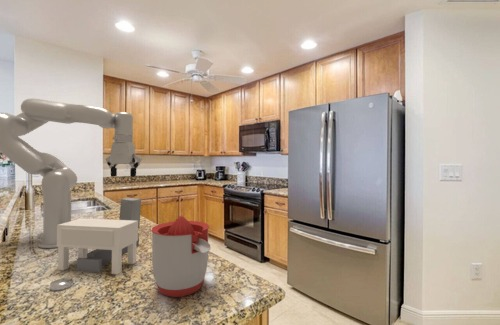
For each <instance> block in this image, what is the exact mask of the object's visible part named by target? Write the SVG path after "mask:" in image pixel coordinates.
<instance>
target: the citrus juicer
mask: <svg viewBox="0 0 500 325" xmlns="http://www.w3.org/2000/svg"><path fill="white" fill-rule="evenodd" d="M209 229H210V225H209V224H208V223H206V222H203V221H199V220H198V221H197V220H187V218H186V217H184V216H183V215H181V216H178V217H177V218H176V219H175V221H169V222H163V223H160V224H157V225H154V226H153V227H152V228H151V234H152V238H151V239H152V240H151V241H152V244H151V245H152V247H151V250H152V251H151V253H152V254H151V255H152V256H151V262H152V263H151V264H152V272H153V277H154V280H155V285H156V288H157V289H158V292H159V293H160V294H162V296H163V295H164V296H166V297H172V298H173V297H174V298H181V297H184V296H189V295H191V294H194V293H196V292H197V291H199V290H200V289H201V287H202V285H203V283H204V280H205V276H206V273H207V268H208V263H209V262H208V260H209V251H210V250H211V244H210V243H209Z"/></svg>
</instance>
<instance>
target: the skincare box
mask: <svg viewBox="0 0 500 325" xmlns="http://www.w3.org/2000/svg"><path fill="white" fill-rule="evenodd" d="M141 207H142V199H140V198H135V197H134V198H133V197H125V198H120V207H119V208H120V209H119V219H118V220H133V221H138V229H140V223H141V210H142V208H141Z"/></svg>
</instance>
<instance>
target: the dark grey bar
mask: <svg viewBox="0 0 500 325" xmlns="http://www.w3.org/2000/svg"><path fill="white" fill-rule="evenodd" d="M139 233H140V232H138V241H136V248H137V247H139V246H140V242H139V241H140V234H139ZM126 253H127V254H128V246H127V247H125V248H123V249H122V256H124V255H125V254H126ZM110 262H111V263H112V250H104V249H93V250H92V251H89V252H88V253H87V258H78V257H77V258H76V272H82V273H95V274H96V273H101V272H102V271H103V270H102V268H103V266H106V265H107V264H108V263H110Z"/></svg>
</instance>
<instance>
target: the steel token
mask: <svg viewBox="0 0 500 325" xmlns="http://www.w3.org/2000/svg"><path fill="white" fill-rule="evenodd" d="M73 280H74V279H73V278H71V277H70V278H69V277H65V278H64V277H63V278H59V279H55V280H52V281H51V282H50V286H49V290H50V292H61V291H64V290H67V289H69V288H71V287H72V286H73V282H74V281H73Z"/></svg>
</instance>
